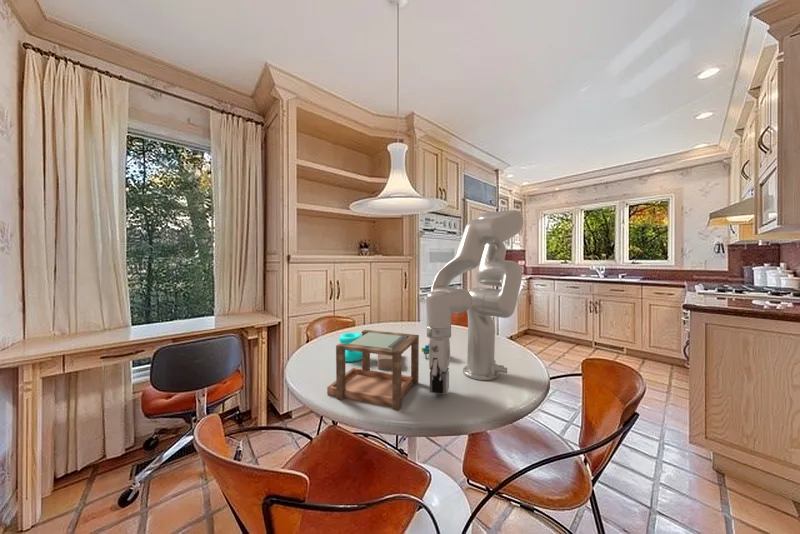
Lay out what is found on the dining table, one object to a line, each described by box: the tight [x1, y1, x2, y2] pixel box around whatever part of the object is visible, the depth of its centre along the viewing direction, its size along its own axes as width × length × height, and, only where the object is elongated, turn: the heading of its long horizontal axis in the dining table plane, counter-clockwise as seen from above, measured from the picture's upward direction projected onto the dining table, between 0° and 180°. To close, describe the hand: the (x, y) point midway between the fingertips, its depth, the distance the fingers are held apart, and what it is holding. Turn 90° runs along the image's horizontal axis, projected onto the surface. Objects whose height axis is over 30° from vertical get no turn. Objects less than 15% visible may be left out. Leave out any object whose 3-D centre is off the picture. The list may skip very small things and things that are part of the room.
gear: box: [421, 343, 429, 360], centre depth 132 cm, size 11×6×10 cm
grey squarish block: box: [429, 367, 450, 395], centre depth 99 cm, size 5×5×6 cm
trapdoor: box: [349, 332, 407, 350], centre depth 101 cm, size 14×14×1 cm
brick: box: [377, 354, 392, 370], centre depth 127 cm, size 17×8×5 cm, turn 3°
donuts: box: [338, 332, 362, 363], centre depth 131 cm, size 10×10×10 cm
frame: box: [326, 329, 420, 411], centre depth 102 cm, size 24×20×16 cm
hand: (439, 387), depth 99 cm, fingers closed on grey squarish block, 5 cm apart
